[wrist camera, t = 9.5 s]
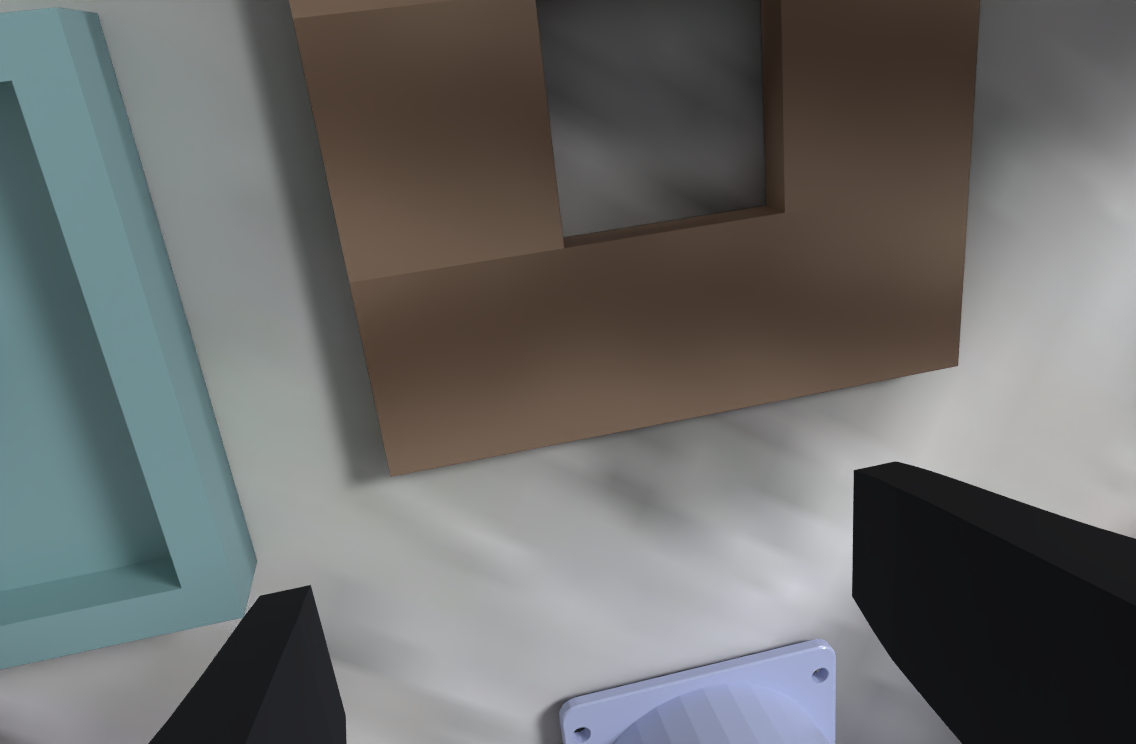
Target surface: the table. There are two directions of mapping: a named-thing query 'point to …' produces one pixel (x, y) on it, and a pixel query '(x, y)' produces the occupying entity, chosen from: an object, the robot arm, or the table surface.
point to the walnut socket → (640, 253)
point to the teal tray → (97, 375)
